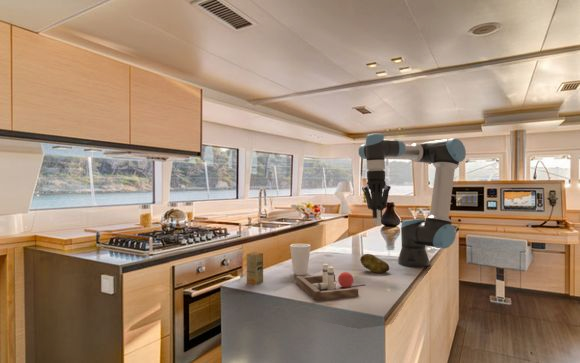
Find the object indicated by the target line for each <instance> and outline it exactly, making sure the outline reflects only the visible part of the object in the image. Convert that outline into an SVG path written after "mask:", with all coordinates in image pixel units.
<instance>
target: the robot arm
mask: <svg viewBox="0 0 580 363" xmlns="http://www.w3.org/2000/svg"><path fill="white" fill-rule="evenodd" d="M466 152H467V151H466V147H465V145H464V143H463V141H461V140H460V139H459V138H454V137H453V138H445V139H439V140H431V141H426V142H425V141H424V142H420V143H419V142H417V143H412V144H405V143H404V142H403V141H402V140H400V139H387V138H386V139H385V135H384V134H383V133H371V134H367V135H366V137H365V143H363V144H361V145H359V148H358V156H359V158H361V159H362V160H366V170H367V171H366V179H367V182H366V185H365V186H362V187H361V190H362V192H363V193H364V197H365V200H366V205H367V208H368V209H369V210H371V211H372V218H373V220H374V223H373V224H374V226H377V227H381V226H382V218H383V211H384V209H386V208H387V203H388V199H389V193H390V190H391V188H392V187H391V185H388V184H387V182H386V171H385V169H386V165H385V164H386V163H385V161H386V160H408V161H409V160H410V161H411V162H413V163H414V162H415V163H423V164H424V163H425V164H432V165H433V166H434V167H435V172H434V179H433V180H434V181H433V187H432V195H431V203H430V210H429V215H428V216H426V217H425V218H417V219H416V218H415V219H403V220H402V221H401V227H400V230H401V231H400V232H401V233H400V234H401V236H400V237H401V249H400V253H399V256H398V259H397V262H398V264H399V265H402V266H404V267H405V266H407V267H411V268H414V267H416V268H420V267H421V268H423V267H428V266H430V260H429V256H428V253H427V250H426V247H432V248H434V249H435V248H436V249H448V248H450V247H451V246H452V245H453V243H454V242H455V240H456V237H457V234H456V232H457V231H456V228H455V227H454V225H452V223H453V222H452V220H451V219H450V210H451V202H452V193H453V187H454V179H455V170H457V169H458V168H459V165H460V163H461V162H463V161H464V160H465V159H466V156H467V155H466V154H467V153H466Z"/></svg>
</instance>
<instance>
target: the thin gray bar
mask: <svg viewBox="0 0 580 363" xmlns="http://www.w3.org/2000/svg"><path fill="white" fill-rule="evenodd" d="M362 286H366V284H364V283H363V284H355V285H353V284H352V285H351V286H350V287H349V288H355V287H362Z"/></svg>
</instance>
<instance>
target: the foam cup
mask: <svg viewBox="0 0 580 363" xmlns="http://www.w3.org/2000/svg"><path fill="white" fill-rule="evenodd" d="M289 251H290V257H291V258H290V259H291V264H292V272H293V274H294V275H296V276H305V275H307V274H308V270H309V262H310V256H311V255H310V254H311V244H308V243H292V244H290V245H289Z"/></svg>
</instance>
